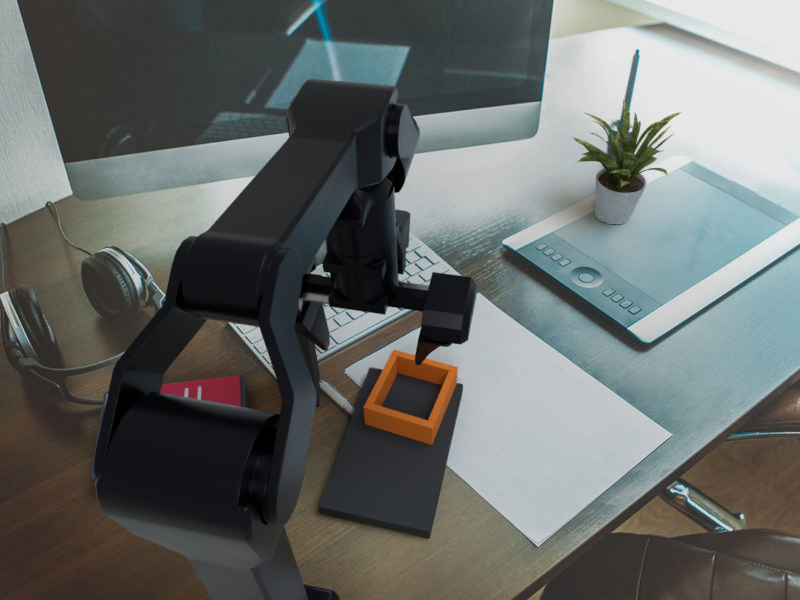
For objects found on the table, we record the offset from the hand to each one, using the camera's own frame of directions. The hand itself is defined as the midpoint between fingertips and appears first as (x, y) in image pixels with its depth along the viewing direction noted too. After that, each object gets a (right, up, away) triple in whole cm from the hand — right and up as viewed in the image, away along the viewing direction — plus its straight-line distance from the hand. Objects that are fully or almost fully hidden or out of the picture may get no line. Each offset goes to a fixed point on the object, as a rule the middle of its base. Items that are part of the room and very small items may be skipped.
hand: (372, 354), depth 63 cm
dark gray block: (-9, -5, +12) cm, 16 cm away
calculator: (-21, -10, +7) cm, 25 cm away
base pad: (+2, -11, +6) cm, 12 cm away
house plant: (+35, +19, +36) cm, 54 cm away
